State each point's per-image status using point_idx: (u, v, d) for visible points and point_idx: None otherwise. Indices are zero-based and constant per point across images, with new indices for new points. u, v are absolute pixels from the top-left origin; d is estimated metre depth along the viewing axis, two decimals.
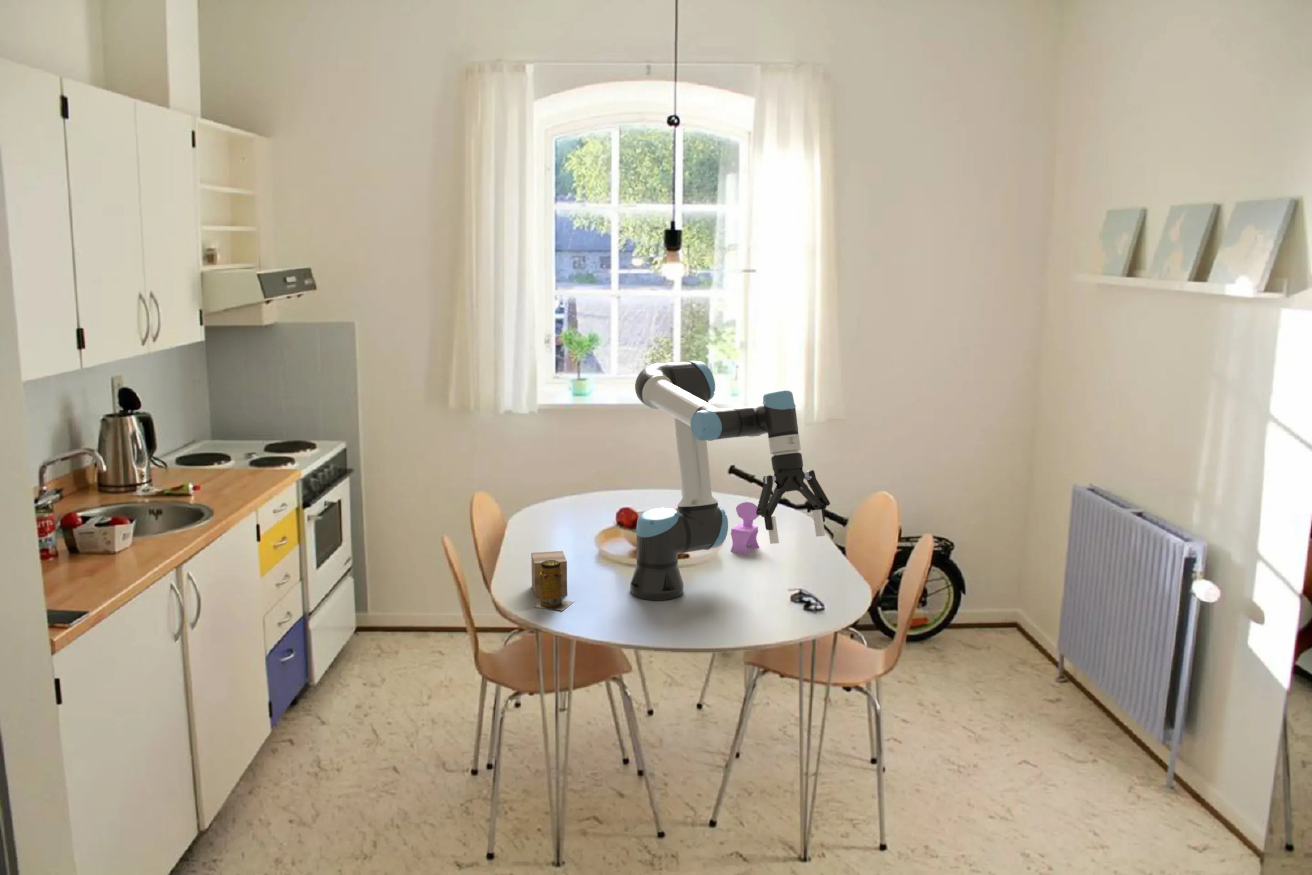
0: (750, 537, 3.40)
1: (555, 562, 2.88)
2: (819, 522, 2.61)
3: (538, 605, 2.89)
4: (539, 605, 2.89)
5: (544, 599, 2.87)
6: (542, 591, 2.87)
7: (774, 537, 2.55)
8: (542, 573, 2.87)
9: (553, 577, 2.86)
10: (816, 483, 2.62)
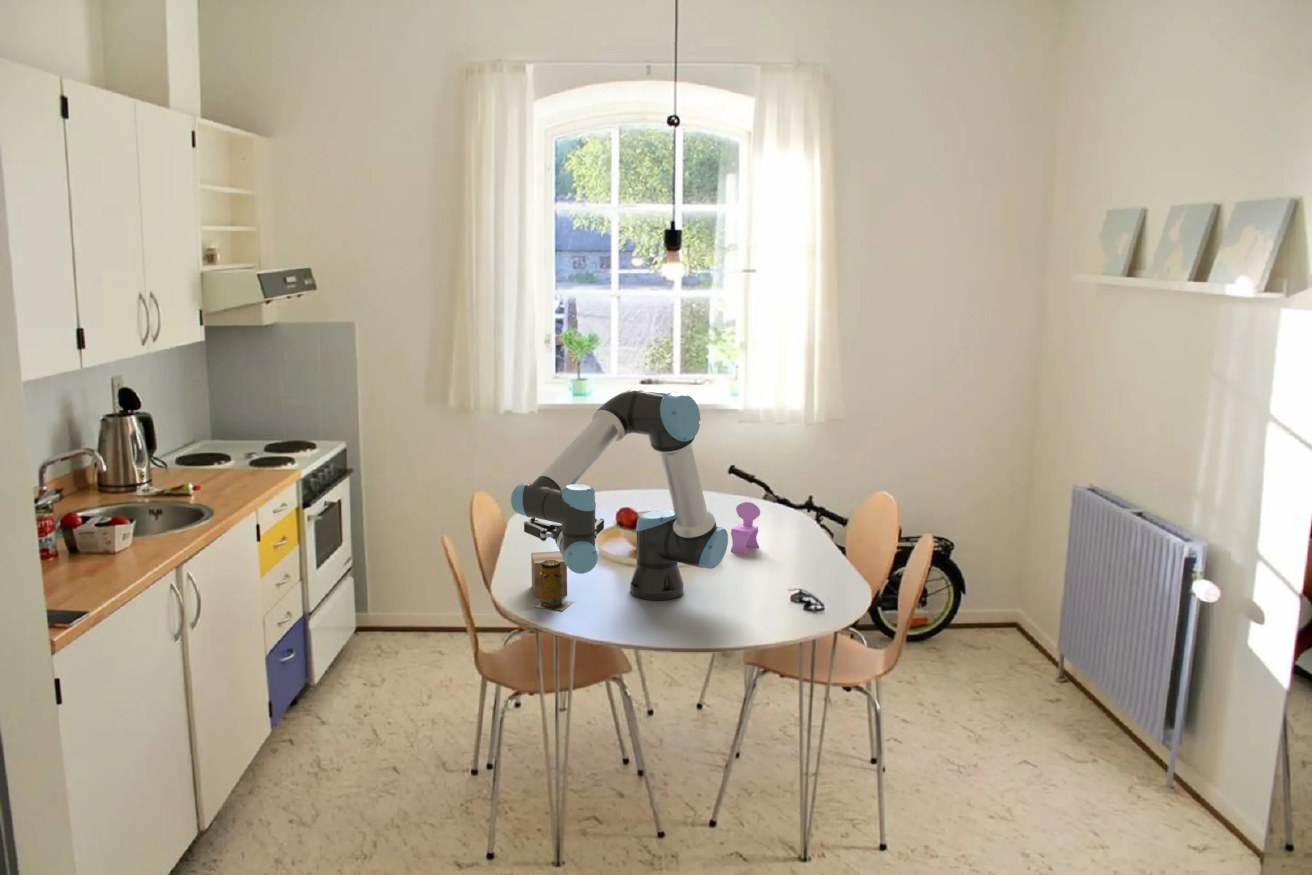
0: (750, 537, 3.40)
1: (555, 562, 2.88)
2: None
3: (538, 605, 2.89)
4: (539, 605, 2.89)
5: (544, 599, 2.87)
6: (542, 591, 2.87)
7: None
8: (542, 573, 2.87)
9: (553, 577, 2.86)
10: None
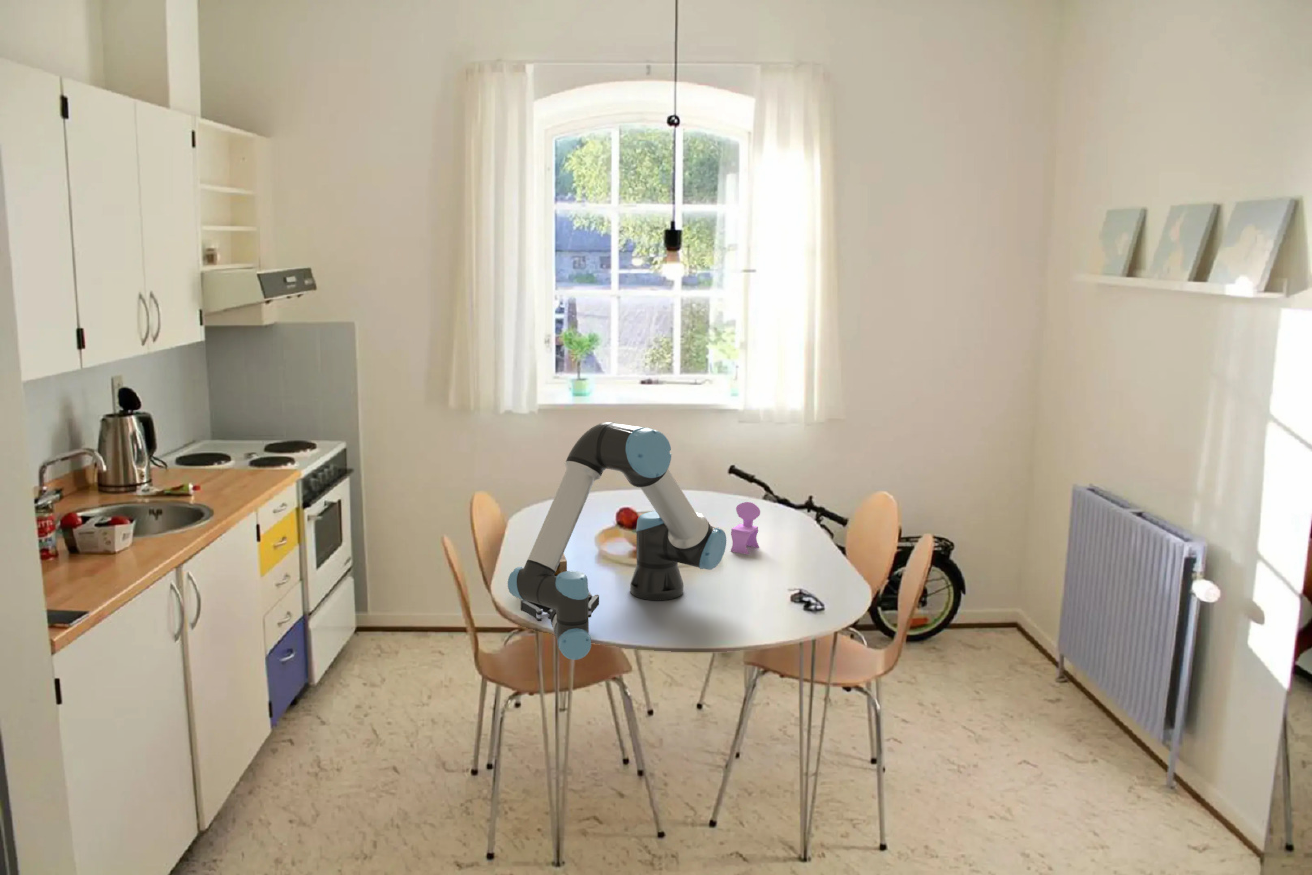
0: (750, 537, 3.40)
1: None
2: None
3: None
4: None
5: None
6: None
7: None
8: None
9: None
10: None
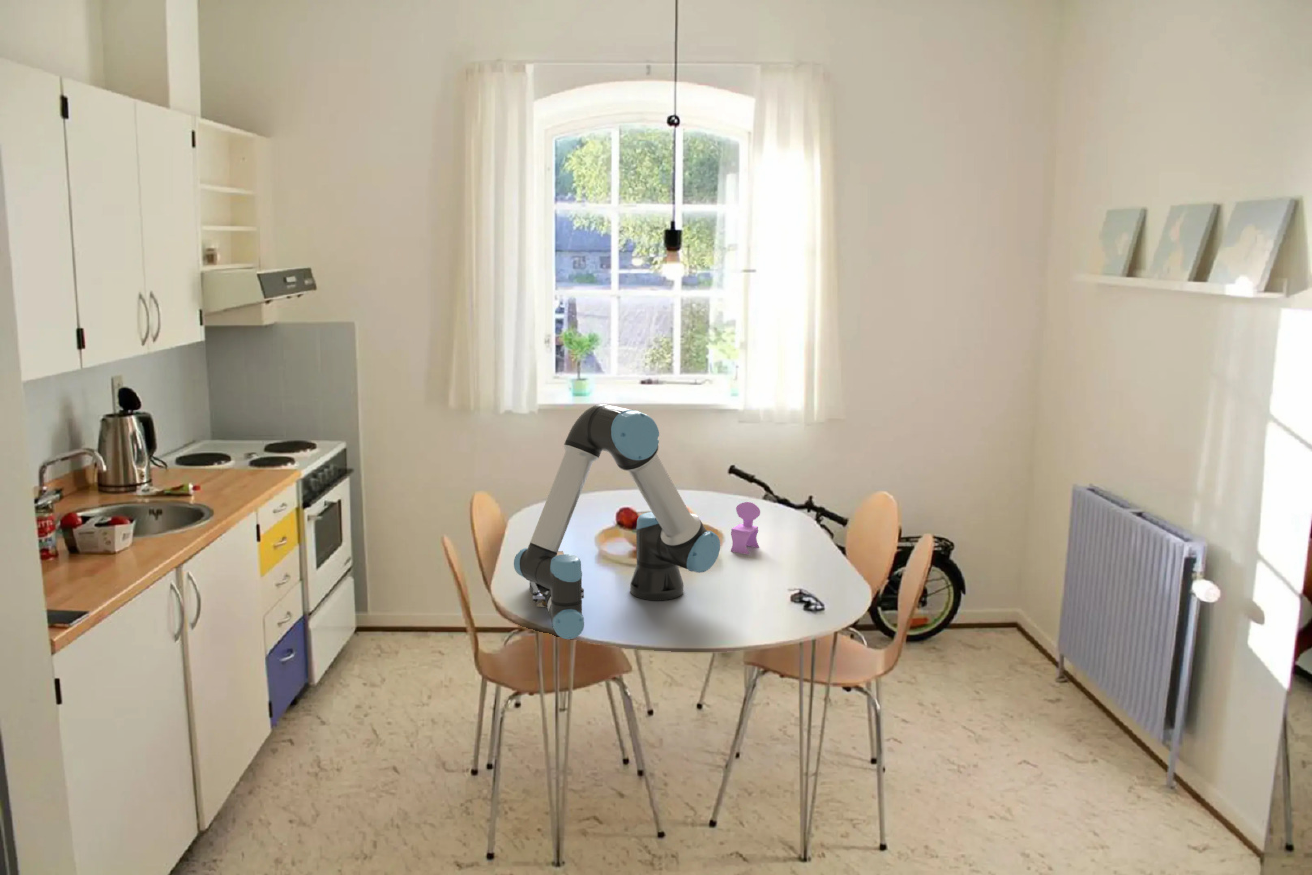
0: (750, 537, 3.40)
1: None
2: None
3: (540, 604, 2.89)
4: (541, 604, 2.89)
5: None
6: None
7: None
8: None
9: None
10: None
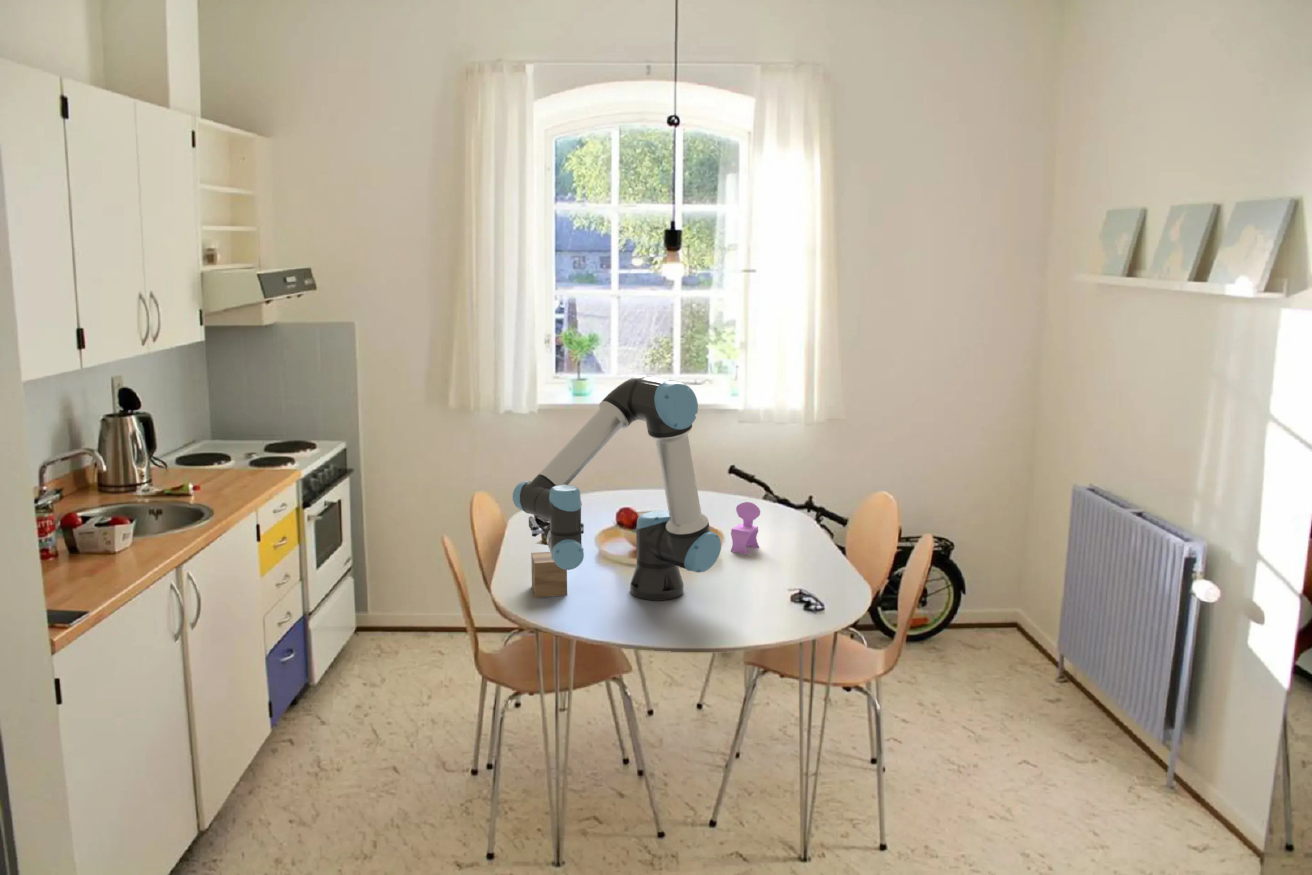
0: (750, 537, 3.40)
1: None
2: None
3: (539, 542, 2.85)
4: (540, 542, 2.85)
5: None
6: None
7: None
8: None
9: None
10: None
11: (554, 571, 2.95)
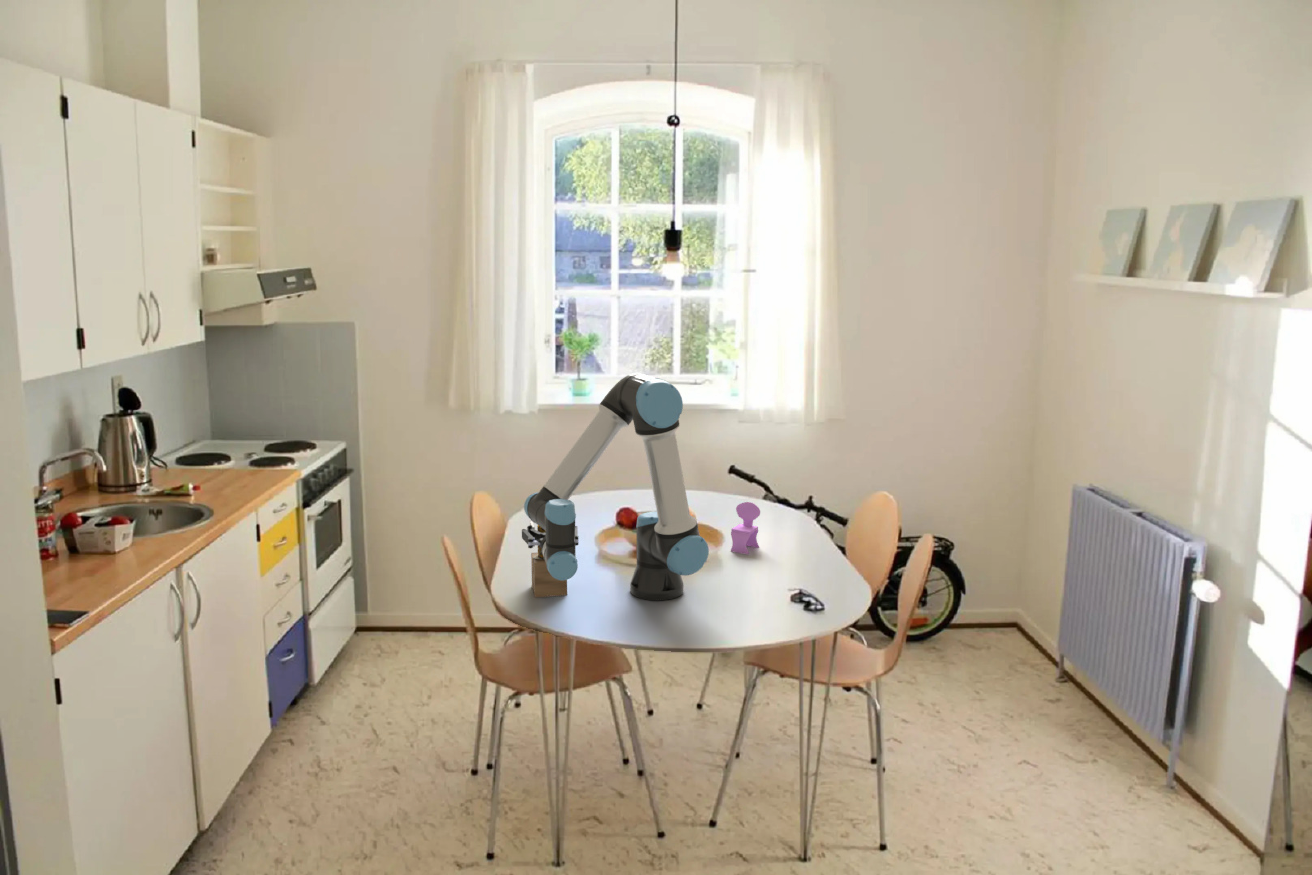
0: (750, 537, 3.40)
1: None
2: None
3: (536, 557, 2.97)
4: (537, 557, 2.97)
5: (541, 551, 2.96)
6: None
7: None
8: None
9: None
10: None
11: None
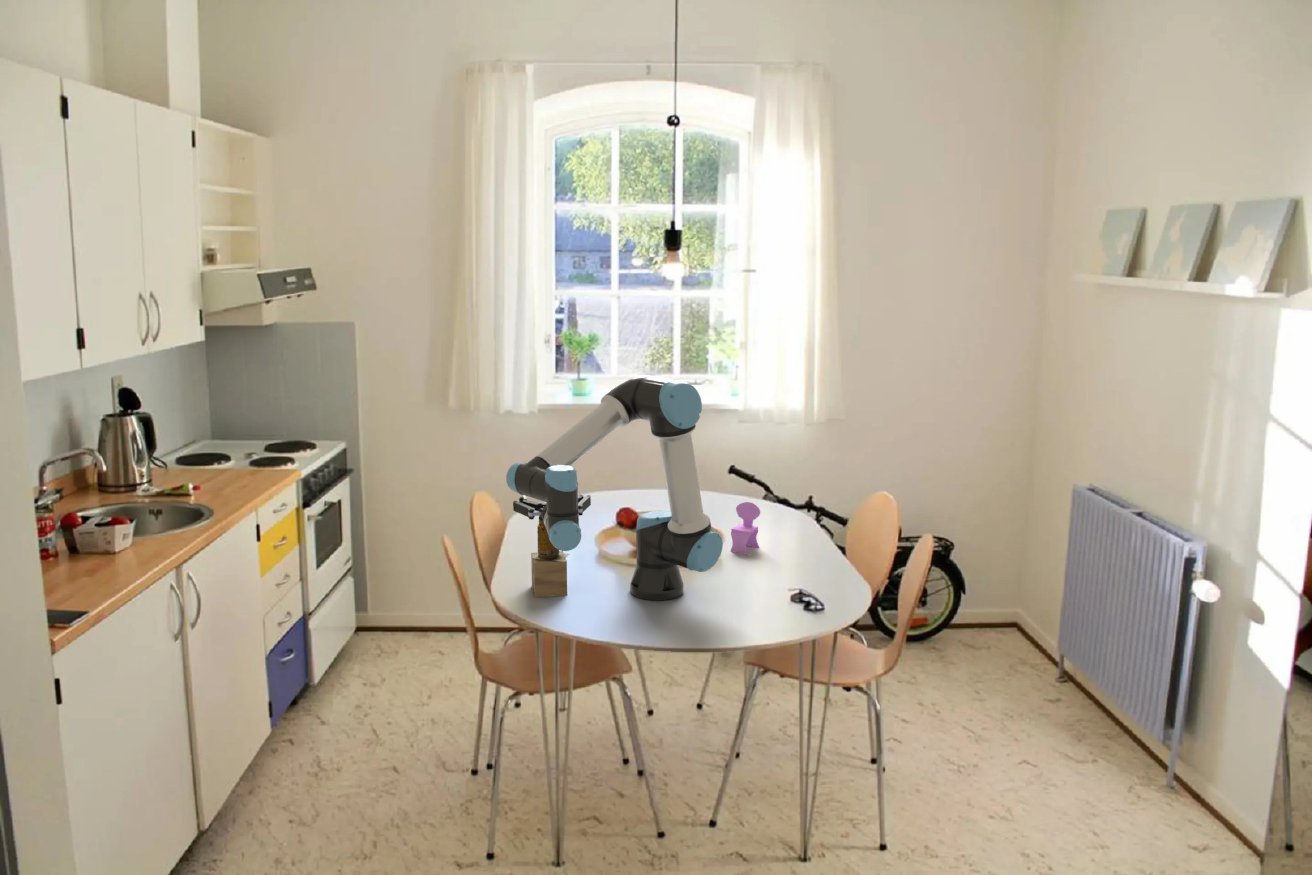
0: (750, 537, 3.40)
1: None
2: None
3: (536, 557, 2.97)
4: (537, 557, 2.97)
5: (541, 551, 2.96)
6: (540, 543, 2.96)
7: None
8: (540, 525, 2.95)
9: None
10: None
11: (554, 571, 2.95)
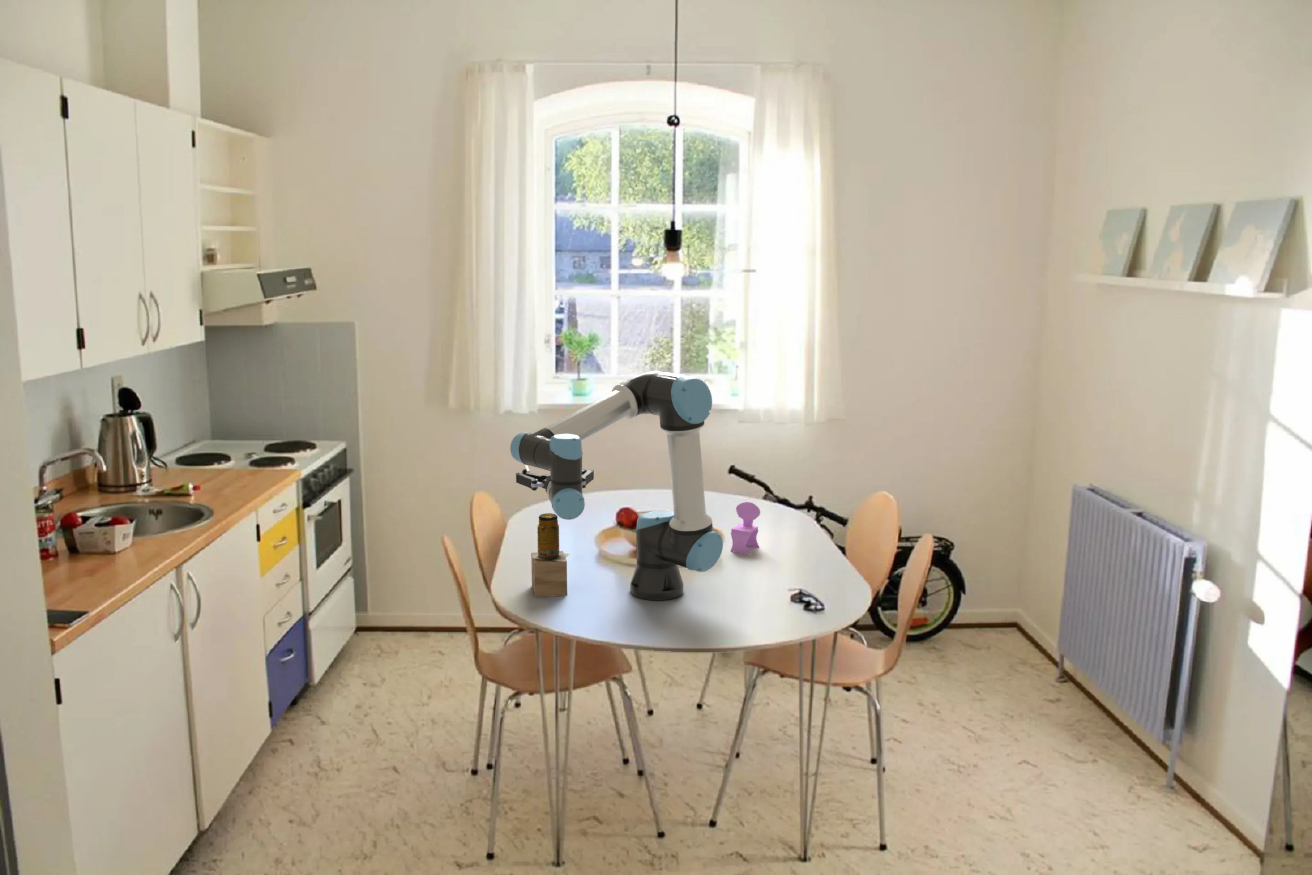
0: (750, 537, 3.40)
1: (552, 515, 2.97)
2: None
3: (536, 557, 2.97)
4: (537, 557, 2.97)
5: (541, 551, 2.96)
6: (540, 543, 2.96)
7: None
8: (540, 525, 2.95)
9: (550, 529, 2.94)
10: None
11: (554, 571, 2.95)
